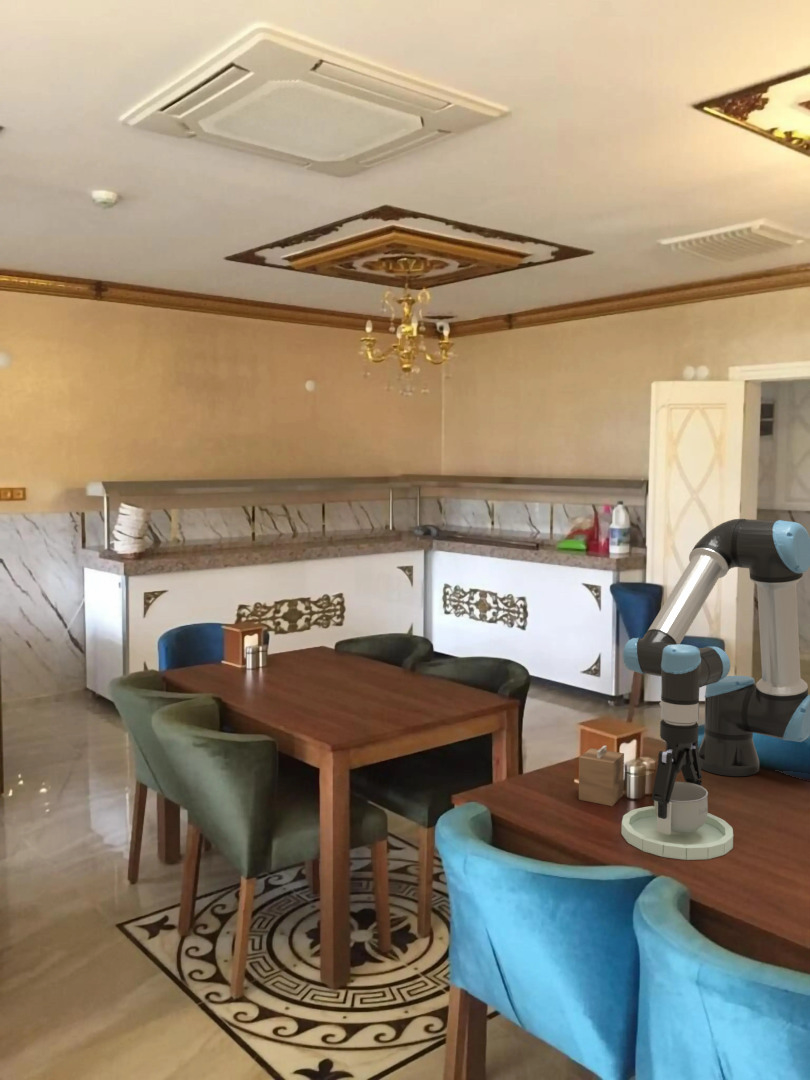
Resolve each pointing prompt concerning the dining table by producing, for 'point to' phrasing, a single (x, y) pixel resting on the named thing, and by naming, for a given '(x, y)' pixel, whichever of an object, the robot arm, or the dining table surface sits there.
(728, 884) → the dining table surface
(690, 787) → the teacup
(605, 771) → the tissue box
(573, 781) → the dining table surface
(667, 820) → the robot arm
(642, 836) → the tray
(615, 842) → the dining table surface
